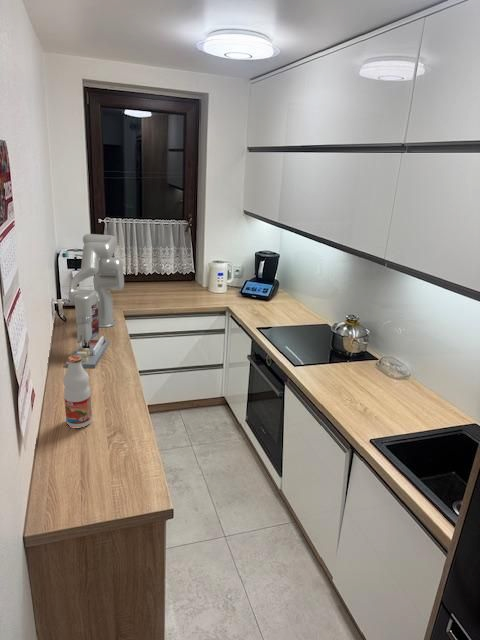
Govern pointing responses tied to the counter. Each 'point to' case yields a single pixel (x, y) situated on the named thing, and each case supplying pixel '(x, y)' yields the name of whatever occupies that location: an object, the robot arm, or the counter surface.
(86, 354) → the maple block
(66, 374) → the fruit juice
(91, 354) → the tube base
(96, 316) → the supplement box
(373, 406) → the counter surface
